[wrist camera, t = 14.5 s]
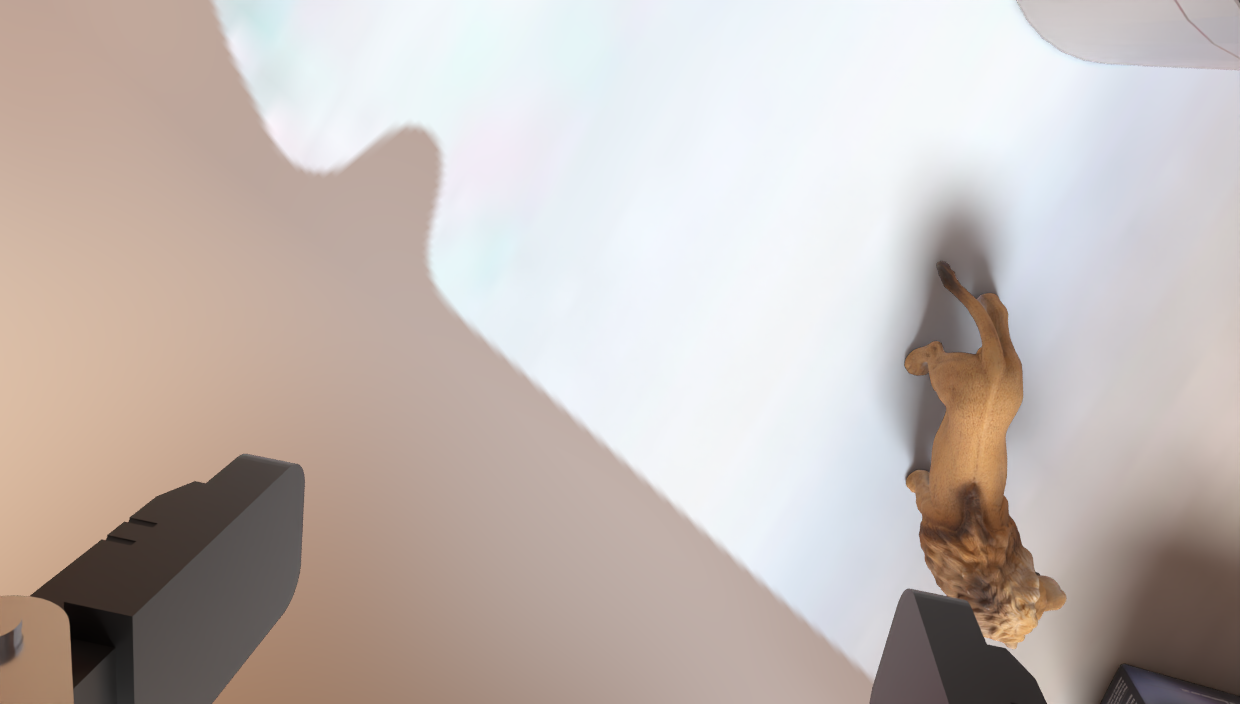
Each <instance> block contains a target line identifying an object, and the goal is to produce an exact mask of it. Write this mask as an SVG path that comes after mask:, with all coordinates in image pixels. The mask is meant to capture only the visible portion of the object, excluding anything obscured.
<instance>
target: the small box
mask: <svg viewBox="0 0 1240 704" xmlns="http://www.w3.org/2000/svg"><path fill="white" fill-rule="evenodd" d="M1101 704H1240V697H1239V696H1236V695H1232V694H1228V693H1225V692H1222V691H1218V690H1214V689H1211V688H1208V687H1204V686H1201V685H1197V684H1193V683H1190V682H1186V681H1182V680H1179V679H1175V678H1172V677H1169V676H1165V675H1162V674H1158V673H1154V672H1151V671H1147V670H1144V669H1140V668H1137V667H1133V666H1130V665H1127V664H1121V665H1120V667H1119V669H1118V670H1117V672H1116V674H1115V676H1114V678H1113V680H1112V682H1111V684H1110V686H1109V688H1108V690H1107V692H1106V694H1105V696H1104V698H1103V700H1102V702H1101Z"/></svg>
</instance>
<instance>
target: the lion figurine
mask: <svg viewBox="0 0 1240 704" xmlns="http://www.w3.org/2000/svg"><path fill="white" fill-rule="evenodd" d="M937 269H938V273H939V276H940V278H941V281H942V283H943V285H944V287H945V288H947V289H948V290H949V291H950V292H951V293H953V294H954V295H955V296H956V297H957V298H958V299H959V300H960V301H961V302H962V303H963V304H964V306H965V307H966V308H967V309H968V311H969V313H970V314H971V316H972V317H973V319H974V320H975V322H976V324H977V327H978V329H979V332H980V336H981V339H982V347H981V348H979V349H978V351H977V353H976V354H969V353H962V352H953V353H946V352H945V351H944V349H943V346H942V343H940V342H939V341H934V342H931V343H930V344H928V345H926V346H924V347H920V348H917V349H915V350H913V351H912V352H911V353H910V354H909V355H908V356H907V357H906V360H905V364H904V365H905V368H906V369H907V371H908V372H909V373H910V374H913V375H916V376H918V375H926V374H927V373H928V372H929V376H930V381H931V385H932V387H933V389H934V390H935V391H936V392H937V394H938V397H939V399H940V400H941V401H942V402H943V403H944V405H945V406H946V413H945V416H944V418H943V421H942V423H941V425H940V427H939V429H938V431H937V433H936V436H935V438H934V442H933V448H932V458H931V468H930V473H929V472H928V471H927V470H916V471H914V472H912V473H911V474H910V475H909V476H908V477H907V479H906V485H907V487H908V488H909V489H910V490H911V491H912V492H914V493H916V504H917V507H918V510H919V511H920V512H921V513H922V518H923V519H922V522H921V524H920V532H919V537H920V543H921V548H922V550H923V551H924V553H925V562H926V564H927V566H928V568H929V569H930V570H931V572H932V574H933V576H934V578H935V580H936V583H937V585H938V586H939V587H940V588H941V590H942V591H943V592H944V593H945V594H946V595H947V596H948V597H953V598H958V599H963V600H966V601H968V602H969V604H970V606H971V608H972V610H973V613H974V615H975V617H976V620H977V622H978V625H979V627H980V629H981V632H982V634H983V637H986V638H990V639H993V640H997V641H1000V642H1003V643H1004V644H1005V645H1006V646H1007V647H1009V648H1011V649H1016V647H1017V644H1018V642H1022V641H1023V640H1024V638H1025V635H1026V634H1028V633H1030V632H1031V631H1032V630H1033V628H1035V627H1036V626H1037V624H1038V620H1039V619H1040V618H1041V616H1042V614H1043V612H1044V611H1049V610H1058V609H1060V608H1061V607H1062V606H1063V605H1064V603H1065V602H1066V595H1065V593H1064V591H1062V590H1061V589H1060V587H1059V585H1058V583H1057V582H1056V581H1055V580H1054V579H1052V578H1050V577H1048V576H1041V575H1040V574H1039V573H1037V572H1035V570H1034V564H1033V557H1032V554H1031V553H1030V552H1029V551H1028V550H1027V549H1026V548H1024V547H1023V546H1022V543H1021V539H1020V534H1019V532H1018V530H1017V526H1016V524H1015V522H1014V521H1013V519H1012V518H1011V517H1010V516H1009V510H1008V501H1007V499H1006V497H1005V496H1004V495H1003V494H1004V489H1005V485H1006V478H1007V450H1006V439H1005V437H1006V432H1007V429H1008V427H1009V425H1010V423H1011V422H1012V420H1013V418H1014V416H1015V415H1016V413H1017V411H1018V409H1019V407H1020V405H1021V403H1022V399H1023V377H1022V364H1021V361H1020V359H1019V357H1018V355H1017V353H1016V352H1015V349H1014V347H1013V345H1012V342H1011V339H1010V335H1009V328H1008V312H1007V309H1006V307H1005V306H1004V305H1003V304H1002V302H1001V301H1000V299H999V297H998V296H997V295H996V294H993V293H985V294H982V295H980V296H979V297H978V298H977V299H976V298H975V297H973V296H972V295H971V294H970V293H969V292H968V291H967V290H966V289H965V288H964V287H963V286H962V285H961V284H960V283H959V282H958V280H957V278H956V276H955V272H954V271H953V270H952V269H951V268H950V266H949V265H948V264H947V263H946V262H944V261H940V262H938V263H937Z"/></svg>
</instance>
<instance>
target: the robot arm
mask: <svg viewBox="0 0 1240 704" xmlns="http://www.w3.org/2000/svg"><path fill="white" fill-rule="evenodd" d="M1016 1H1017V3H1018V5H1019V7H1020V9H1021V10H1022V12H1023V14H1024V16H1025V18H1026V20H1027V21H1028V22H1029V24H1030V25H1031V26H1032V27H1033V28H1034V29H1035V31H1036V32H1037V33H1038V34H1039V35H1040V36H1041V37H1042V38H1043V39H1044V40H1046V41H1047V42H1048V43H1050V44H1051V45H1053V46H1054V47H1055V48H1057V49H1058V50H1060V51H1061V52H1064V53H1066V54H1069V55H1071V56H1074V57H1076V58H1079V59H1081V60H1084V61H1091V62H1097V63H1104V64H1117V65H1138V66H1150V67H1173V68H1196V69H1220V70H1240V0H1016ZM304 487H305V479H304V472H303V469H302V467H301V466H300V465H298V464H295V463H290V462H285V461H280V460H275V459H270V458H265V457H260V456H254V455H250V454H242V455H240V456H239V457H237V458H236V459H235V460H233V461H232V462H231V463H230V464H229V465H228V466H226V467H225V468H224V469H223V470H221V471H220V472H219V473H218V474H217V475H215V476H214V477H213V478H212V479H211V480H209V481H208V482H207V483H201V482H196V481H195V482H192V483H190V484H187V485H184V486H182V487H179V488H177V489H174V490H172V491H169V492H167V493H164V494H162V495H159V496H157V497H155V498H154V499H153V500H152V501H150V502H149V503H148V504H146V505H145V506H144V507H143V508H141V509H140V510H139V511H138V512H136V513H135V514H134V515H132V516H131V517H130V520H129V522H123V523H122V524H121V525H120V526H118V527H117V528H116V529H115V530H113V531H112V532H111V533H109V534H108V535H107V539H106V540H101V541H99V542H98V543H97V544H95V545H94V546H93V547H92V548H90V549H89V550H88V551H87V552H85V553H84V554H83V555H81V556H80V557H79V558H78V559H76V560H75V561H74V562H73V563H71V564H70V565H69V566H67V567H66V568H65V569H63V570H62V571H61V572H60V573H59V574H57V575H56V576H55V577H53V578H52V579H51V580H50V581H48V582H47V583H46V584H44V585H43V586H42V587H41V588H39V589H38V590H37V591H36V592H34V593H33V594H32V595H30V596H18V595H17V596H15V595H13V596H0V704H212V703H213V702H214V700H215V699H216V698H217V697H218V695H219V694H220V693H221V692H222V690H223V689H224V688H225V687H226V685H227V684H228V683H229V682H230V680H231V679H232V678H233V676H234V675H235V674H236V673H237V671H238V670H239V669H240V668H241V666H242V665H243V664H244V662H245V661H246V660H247V659H248V658H249V656H250V655H251V654H252V653H253V651H254V650H255V649H256V647H257V646H258V645H259V644H260V642H261V641H262V640H263V639H264V637H265V636H266V635H267V634H268V632H269V631H270V630H271V629H272V627H273V626H274V625H275V624H276V622H277V621H278V619H280V617H281V616H282V615H283V613H284V612H285V611H286V609H287V607H288V605H289V603H290V601H291V599H292V597H293V595H294V592H295V589H296V585H297V582H298V578H299V574H300V567H301V549H302V528H303V507H304ZM870 704H1047V703H1046V701H1045V699H1044V696H1043V694H1042V692H1041V690H1040V688H1039V686H1038V684H1037V681H1036V679H1035V678H1034V677H1033V676H1032V675H1031V674H1030V673H1029V672H1028V671H1027V670H1026V669H1025V668H1024V667H1023V666H1022V665H1021V664H1020V663H1019V661H1018V660H1017V659H1016V658H1015V657H1014V656H1013V655H1012V654H1011V653H1010V652H1009V651H1008V650H1007V649H1006V648H1002V647H997V646H992V645H987V644H986V642H985V639H984V637H983V634H982V632H981V629H980V627H979V625H978V622H977V620H976V617H975V615H974V613H973V610H972V608H971V606H970V604H969V602H968V601H966V600H963V599H958V598H953V597H948V596H943V595H938V594H933V593H928V592H923V591H918V590H913V589H906V590H905V591H904V592H903V594H902V595H901V597H900V600H899V602H898V605H897V608H896V612H895V615H894V618H893V622H892V625H891V628H890V631H889V635H888V638H887V641H886V645H885V648H884V651H883V655H882V658H881V661H880V665H879V668H878V671H877V674H876V678H875V681H874V685H873V688H872V693H871V698H870Z"/></svg>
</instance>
